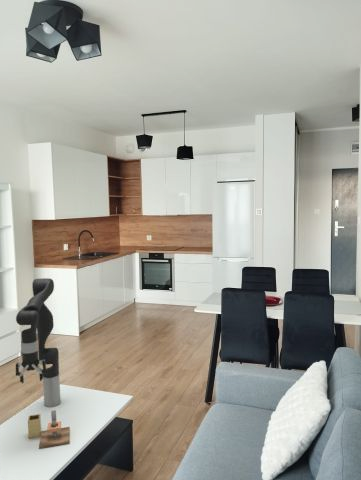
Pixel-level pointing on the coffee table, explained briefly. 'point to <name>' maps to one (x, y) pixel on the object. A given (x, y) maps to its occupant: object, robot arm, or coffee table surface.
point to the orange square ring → (54, 427)
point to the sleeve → (34, 426)
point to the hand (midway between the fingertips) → (31, 381)
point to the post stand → (54, 435)
